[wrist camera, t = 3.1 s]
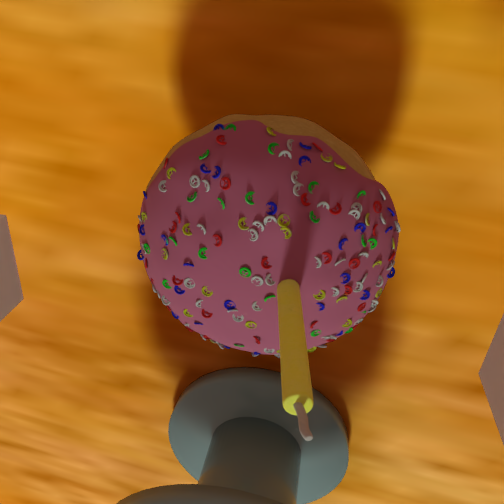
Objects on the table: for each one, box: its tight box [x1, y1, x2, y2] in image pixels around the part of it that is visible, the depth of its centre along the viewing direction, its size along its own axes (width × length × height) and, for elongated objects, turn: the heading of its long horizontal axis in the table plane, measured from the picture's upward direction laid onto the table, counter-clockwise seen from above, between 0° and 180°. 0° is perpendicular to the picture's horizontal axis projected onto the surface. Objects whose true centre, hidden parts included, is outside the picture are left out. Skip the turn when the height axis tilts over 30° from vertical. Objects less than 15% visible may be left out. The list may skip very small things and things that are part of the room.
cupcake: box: [137, 114, 400, 441], centre depth 15 cm, size 9×8×12 cm
